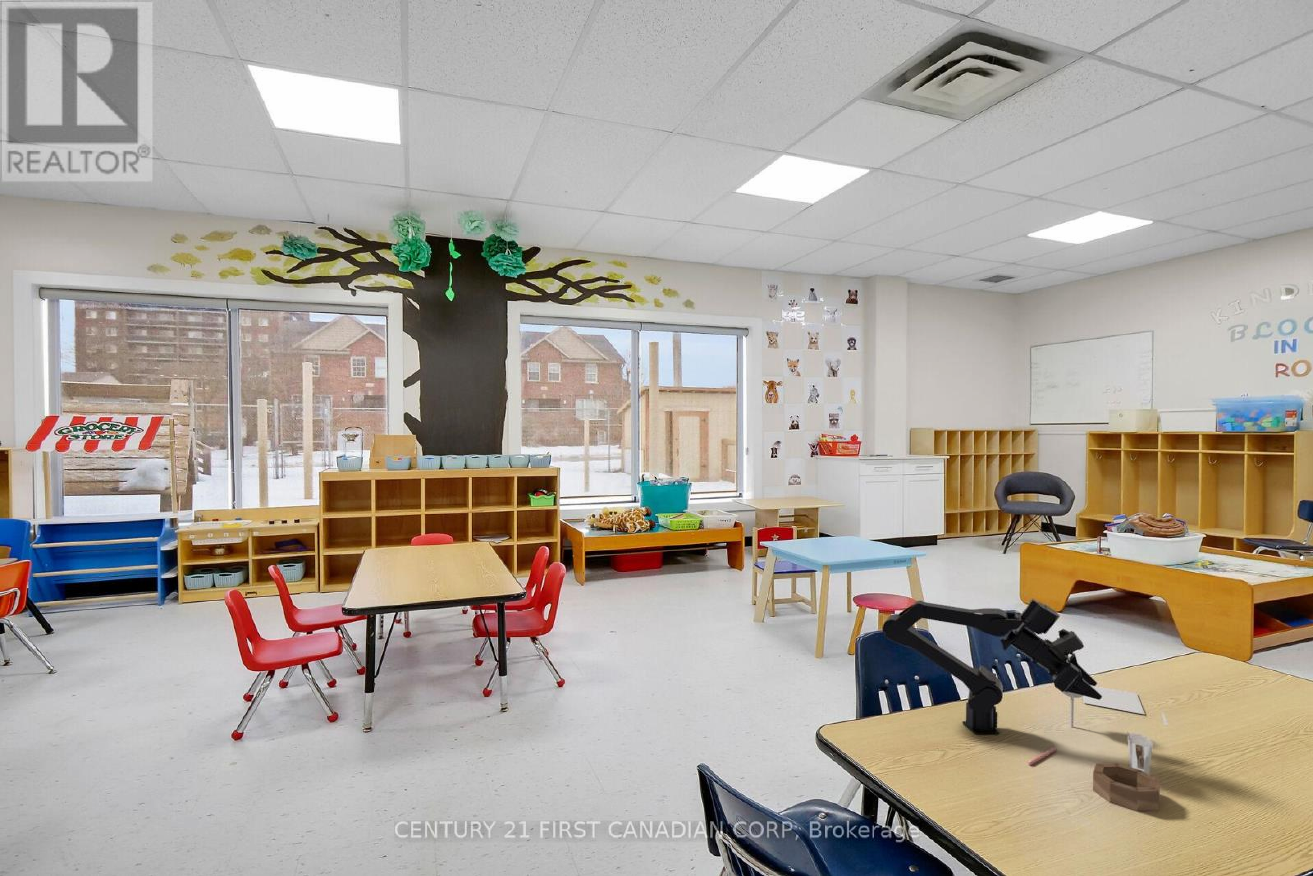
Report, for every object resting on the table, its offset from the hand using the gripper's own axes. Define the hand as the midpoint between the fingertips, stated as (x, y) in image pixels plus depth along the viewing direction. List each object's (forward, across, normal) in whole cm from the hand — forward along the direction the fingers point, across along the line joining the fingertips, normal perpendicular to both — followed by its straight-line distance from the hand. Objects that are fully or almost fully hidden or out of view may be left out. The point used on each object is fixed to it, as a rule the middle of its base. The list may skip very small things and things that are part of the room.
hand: (1098, 691), depth 152 cm
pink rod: (-2, -9, +19) cm, 21 cm away
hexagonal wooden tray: (+10, -19, +11) cm, 24 cm away
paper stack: (+18, +36, +7) cm, 41 cm away
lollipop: (+4, +14, +15) cm, 21 cm away
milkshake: (+14, -8, +10) cm, 18 cm away
